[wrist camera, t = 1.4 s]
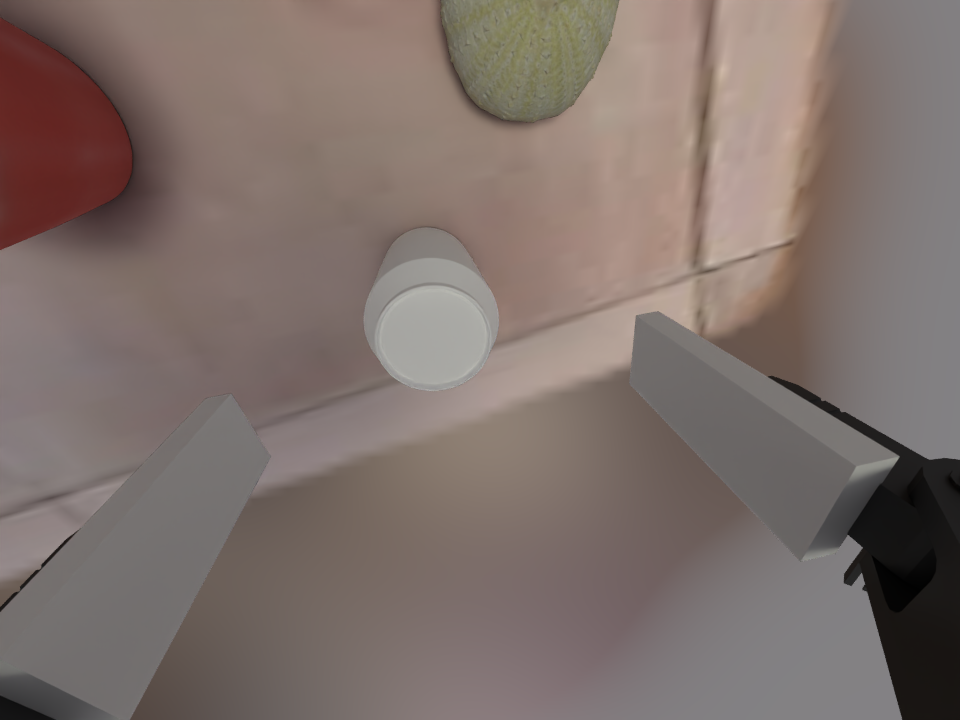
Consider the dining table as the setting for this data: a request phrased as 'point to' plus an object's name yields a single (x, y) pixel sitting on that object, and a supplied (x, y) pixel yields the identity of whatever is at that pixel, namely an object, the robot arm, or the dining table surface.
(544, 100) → the sea urchin shell
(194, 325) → the dining table surface
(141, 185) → the dining table surface
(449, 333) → the beverage can
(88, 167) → the flower pot
